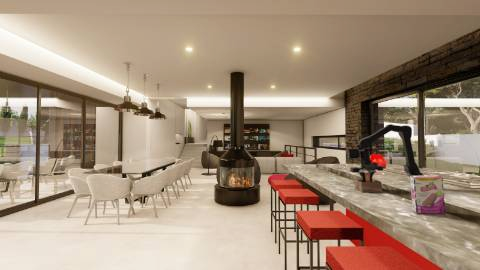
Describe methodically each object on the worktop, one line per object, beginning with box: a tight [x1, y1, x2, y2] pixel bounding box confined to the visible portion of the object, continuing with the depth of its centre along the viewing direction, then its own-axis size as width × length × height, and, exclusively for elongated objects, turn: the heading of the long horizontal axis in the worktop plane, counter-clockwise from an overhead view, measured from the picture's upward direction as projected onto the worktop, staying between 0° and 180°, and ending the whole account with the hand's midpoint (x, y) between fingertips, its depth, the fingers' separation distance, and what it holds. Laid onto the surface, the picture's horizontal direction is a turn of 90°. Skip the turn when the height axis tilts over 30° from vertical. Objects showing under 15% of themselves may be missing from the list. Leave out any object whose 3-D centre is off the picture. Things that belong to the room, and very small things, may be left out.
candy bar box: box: [409, 174, 446, 215], centre depth 113 cm, size 11×5×16 cm, turn 74°
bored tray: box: [353, 178, 383, 193], centre depth 165 cm, size 12×12×6 cm
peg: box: [364, 172, 370, 182], centre depth 165 cm, size 3×3×8 cm
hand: (367, 182), depth 165 cm, fingers closed on peg, 3 cm apart
